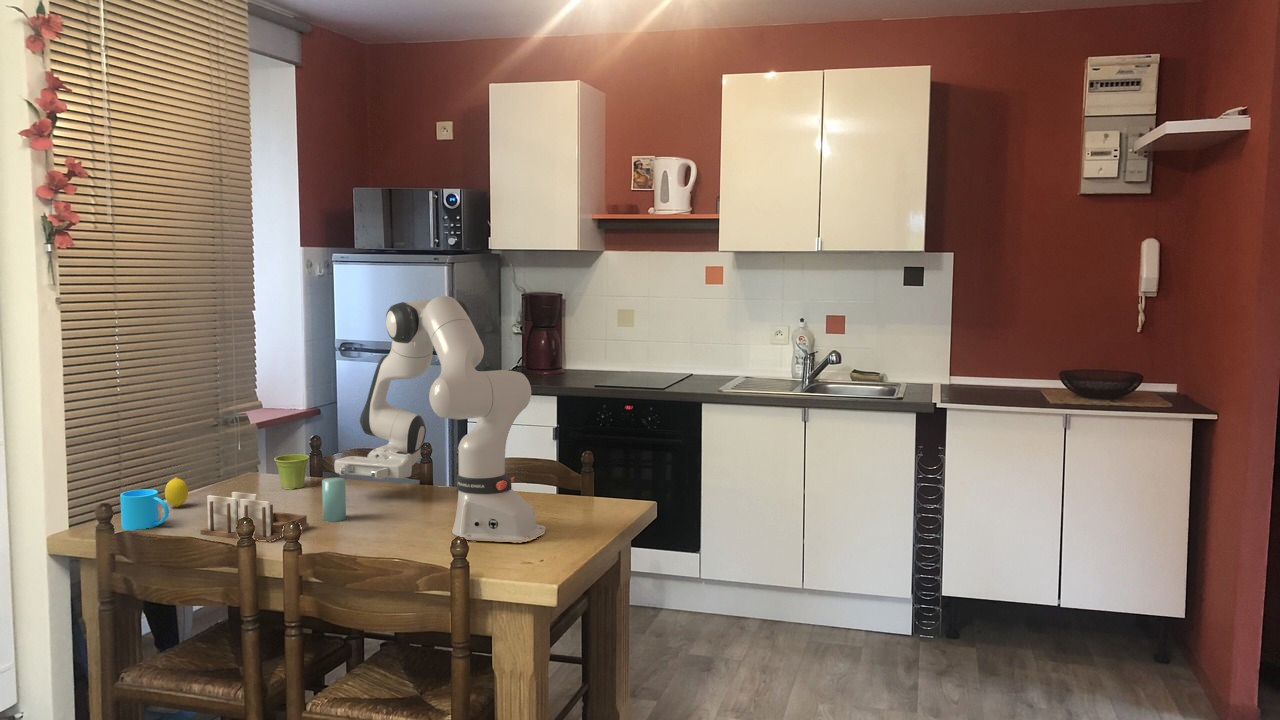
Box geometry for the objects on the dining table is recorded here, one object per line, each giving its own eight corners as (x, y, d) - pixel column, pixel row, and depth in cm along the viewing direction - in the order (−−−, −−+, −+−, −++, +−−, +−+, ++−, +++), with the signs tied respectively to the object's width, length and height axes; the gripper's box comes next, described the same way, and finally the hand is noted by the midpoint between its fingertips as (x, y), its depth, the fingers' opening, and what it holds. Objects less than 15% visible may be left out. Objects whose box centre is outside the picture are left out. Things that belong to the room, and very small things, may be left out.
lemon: (169, 511, 260) (168, 480, 259) (162, 507, 264) (161, 477, 263) (191, 507, 263) (190, 477, 262) (184, 503, 267) (183, 474, 267)
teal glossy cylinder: (350, 517, 256) (349, 478, 255) (337, 522, 250) (336, 483, 249) (331, 515, 257) (331, 476, 256) (318, 520, 252) (317, 481, 251)
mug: (113, 529, 243) (112, 496, 242) (137, 520, 251) (136, 488, 250) (157, 532, 240) (156, 499, 239) (180, 523, 248) (178, 491, 247)
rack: (308, 527, 246) (307, 491, 245) (270, 542, 233) (269, 504, 232) (241, 519, 252) (240, 484, 251) (200, 534, 239) (199, 496, 238)
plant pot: (300, 491, 282) (300, 461, 282) (269, 490, 284) (268, 460, 283) (315, 484, 292) (314, 454, 291) (284, 483, 293) (284, 453, 292)
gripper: (349, 448, 280) (322, 458, 267) (416, 454, 276) (392, 464, 262) (349, 471, 281) (322, 482, 268) (416, 476, 276) (392, 488, 263)
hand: (357, 473), depth 265 cm, fingers open, 8 cm apart
